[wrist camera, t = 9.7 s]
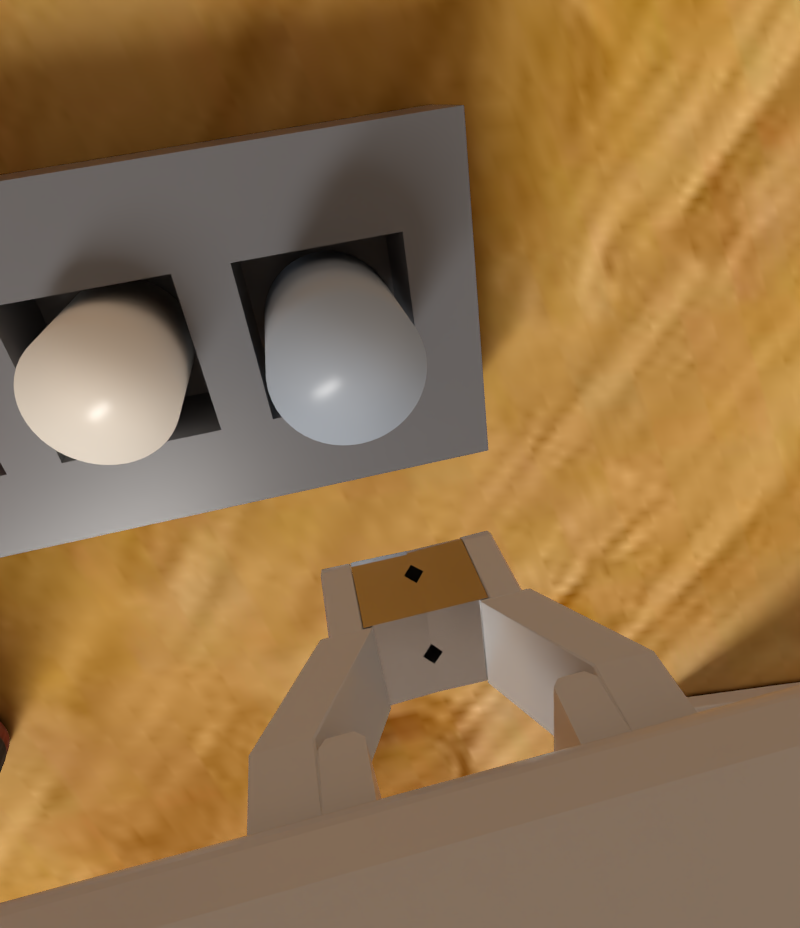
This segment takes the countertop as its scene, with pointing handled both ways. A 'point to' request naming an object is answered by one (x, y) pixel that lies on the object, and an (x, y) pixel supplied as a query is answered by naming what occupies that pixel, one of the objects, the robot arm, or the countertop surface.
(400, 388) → the slate button
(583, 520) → the countertop surface
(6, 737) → the supplement bottle
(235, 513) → the countertop surface
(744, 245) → the countertop surface
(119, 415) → the ivory button
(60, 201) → the egg tray
